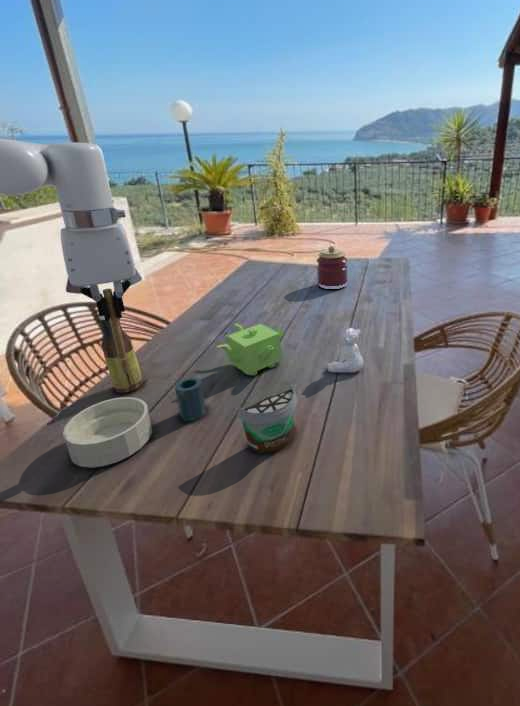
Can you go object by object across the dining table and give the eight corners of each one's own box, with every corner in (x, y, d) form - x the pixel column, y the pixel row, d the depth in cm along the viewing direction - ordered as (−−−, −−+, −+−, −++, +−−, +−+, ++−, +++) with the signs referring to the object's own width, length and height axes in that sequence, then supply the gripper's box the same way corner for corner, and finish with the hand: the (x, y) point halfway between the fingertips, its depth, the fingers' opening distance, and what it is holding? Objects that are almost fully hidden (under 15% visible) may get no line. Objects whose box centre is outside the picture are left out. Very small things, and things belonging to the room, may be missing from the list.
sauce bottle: (140, 377, 102) (124, 307, 95) (145, 388, 97) (129, 315, 90) (111, 386, 98) (92, 314, 91) (115, 398, 93) (96, 323, 87)
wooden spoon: (122, 374, 75) (103, 292, 70) (120, 368, 77) (101, 288, 72) (130, 372, 76) (112, 290, 70) (128, 366, 78) (110, 287, 72)
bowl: (52, 465, 74) (43, 439, 72) (109, 416, 87) (103, 394, 85) (119, 474, 71) (111, 448, 69) (167, 423, 85) (162, 400, 83)
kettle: (221, 381, 100) (215, 342, 96) (235, 354, 113) (230, 318, 110) (280, 379, 101) (276, 340, 97) (286, 352, 114) (284, 317, 110)
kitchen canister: (342, 291, 162) (342, 250, 156) (313, 289, 165) (311, 249, 159) (350, 282, 174) (350, 243, 168) (323, 279, 177) (321, 241, 171)
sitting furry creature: (344, 356, 112) (343, 318, 108) (370, 363, 108) (371, 324, 104) (326, 371, 104) (324, 331, 100) (354, 380, 100) (353, 338, 96)
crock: (176, 420, 86) (170, 389, 83) (189, 405, 90) (184, 376, 88) (197, 422, 85) (192, 391, 82) (210, 408, 90) (205, 378, 87)
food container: (255, 468, 73) (249, 424, 69) (241, 449, 77) (236, 407, 74) (310, 438, 80) (308, 397, 77) (295, 423, 85) (292, 384, 81)
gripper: (138, 212, 74) (155, 302, 80) (34, 220, 65) (61, 320, 71) (144, 217, 68) (162, 314, 74) (31, 227, 59) (61, 335, 66)
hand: (113, 316), depth 73 cm, fingers closed on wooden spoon, 1 cm apart
